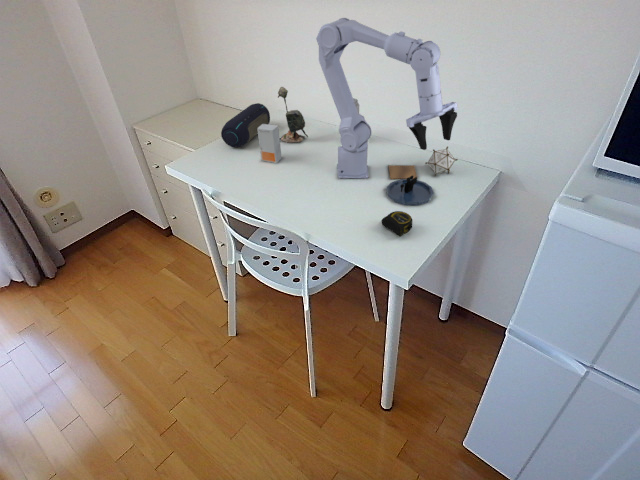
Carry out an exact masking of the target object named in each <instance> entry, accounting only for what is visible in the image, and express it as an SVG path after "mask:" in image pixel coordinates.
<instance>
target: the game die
mask: <svg viewBox="0 0 640 480" xmlns="http://www.w3.org/2000/svg"><path fill="white" fill-rule="evenodd" d="M448 149H449V146H446V148H443V149H438V150H435V149H434V148H432V154H431V156H430V158H429V159H428V161H427V162H424V164H425V165H428V166H429V167H430V169H431V170H432V171H433V173H434V177H436V176H437V175H438V174H442V173H443V174H444V173H447V174H450V169H451V168H452V166H453V165H454V163H455V162H457V161H458V160H459V159H458V158H454V156H453V155H452V154H451V152H450V151H449V150H448Z"/></svg>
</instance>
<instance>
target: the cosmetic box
mask: <svg viewBox="0 0 640 480" xmlns="http://www.w3.org/2000/svg"><path fill="white" fill-rule="evenodd" d="M257 130H258V134H257V137H258V138H257V139H258V145H259V153H260V159H261V161H262V162H267V163H274V164H278V163H279V161H281V160H282V148H281V140H280V138H281V135H280V127H279V125H276V124H270V123H269V124H262V125H261V126H259V127H258V128H257Z"/></svg>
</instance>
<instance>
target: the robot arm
mask: <svg viewBox="0 0 640 480" xmlns="http://www.w3.org/2000/svg"><path fill="white" fill-rule="evenodd" d="M315 40H316V42H317V45H318V62H319V65H320V67H321V71H322V73H323V76H324V79H325V81H326V84H327V86H328V89H329V92H330V94H331V98H332V100H333V102H334V105H335V108H336V110H337V114H338V116H339V118H340V123H339V127H338V133H339V136H340V137H339V138H340V140H339V142H340V146H338V147H337V164H336V170H337V178H338V179H368V178H369V166H368V147H369V145H368V143H369V141H368V140H369V139H370V138H371V136H372V133H373V132H372V131H373V130H372V127H371V126H370V124H369V123H368V122H367V120H366V119H365V116H364V115H362V114H361V113H360V112H359V113H358V111H357V108H356V106H355V103H354V100H353V98H354V97H353V95H352V92H351V88H350V87H349V86H350V85H349V82H348V81H347V77H346V75H345V71H344V69H343V66H342V63H341V57H342V55H343V52H344V50H345V49H346V47H348V45H349V44H350V43H355V42H358V43H362V44H365V45H368V46H372V47H374V48H378V49H380V50H384V53H385V55H386V57H389V58H390V59H394V60H396V61H399V62H401V63H404V64H406V65H410V67H411V69H412V70H413V71H414V72H415V81H416V89H417V96H418V105H419V112H418V113H416V114H414V115H412V116H410V117H409V118H406V119H405V122H406V123H405V124H406V127H407V128H408V129H409V130H410V131H411V133H412V134H413V135H414V138H415V139H416V141H417V143H418V146H419V148H420V150H423V151H426V150H427V149H428V145H427V127H428V126H426V125H424V124H423V123H424V122H427V121H429V120H432V119H435V118H437V117H438V118H439V121H440V125H441V131H442V138H443V140H446V141H451V138H452V131H453V128H454V125H455V122H456V119H457V117H458V112H457V110H458V102H455V101H451V102H448V103H444V104H443V97H442V88H441V77H440V70H439V69H440V68H439V62H438V61H439V60H440V58H441V49H440V47H439V45H438V44H437V43H435V42H434V41H432V40H427V41H424V42H423V39H421V38H418V39H417V38H416V39H415V38H414V37H413V38H412V37H410V36H407V35H406V32H404V31H402V30H400V31H399V32H394V33H392V34H391V35H388V34H386V33H384V32H382V31H379V30H377V29H375V28H372V27H370V26H368V25H366V24H363V23H361V22H358V21H357V20H355V19H350V18H347V17H341V18H338V19H337V20H335V21H332V22H330V23H325V24H322V26H321V27H320V28H319V31H318V33H317V35H316V38H315Z"/></svg>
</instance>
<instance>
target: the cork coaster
mask: <svg viewBox="0 0 640 480" xmlns="http://www.w3.org/2000/svg"><path fill="white" fill-rule="evenodd" d="M388 175H389V180H400V179H407V178H408V177H410V176H412V175H413V176H414V177H413V179H414V178H415V177H417V178H418V175H417V171H416V166H415V165H407V164H406V165H405V164H404V165H400V164H399V165H397V164H396V165H394V164H392V165H390V164H389V165H388Z"/></svg>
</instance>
